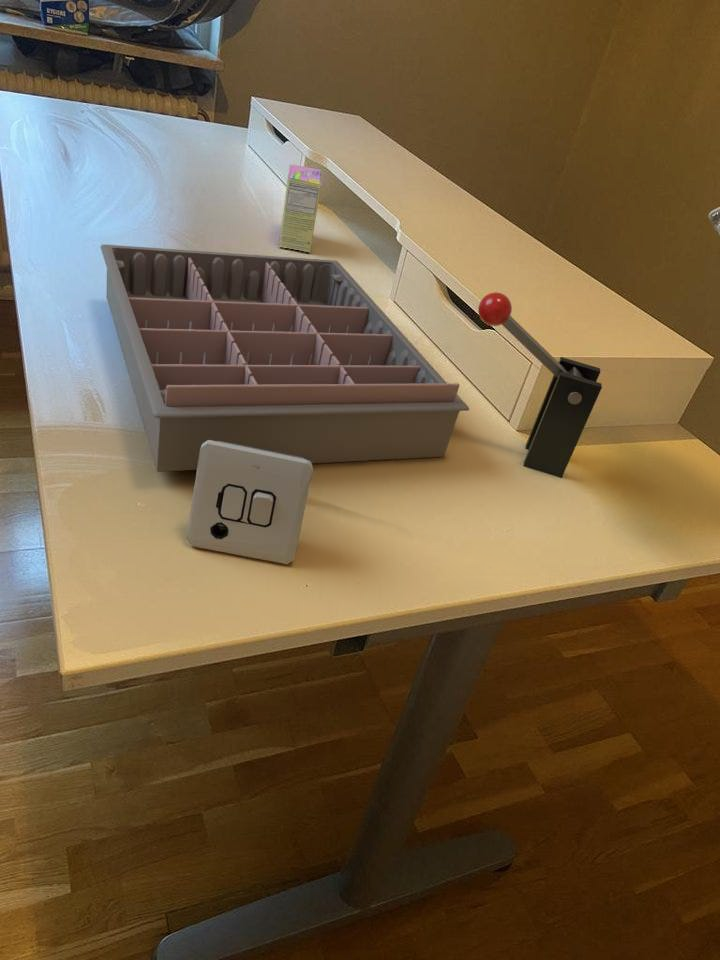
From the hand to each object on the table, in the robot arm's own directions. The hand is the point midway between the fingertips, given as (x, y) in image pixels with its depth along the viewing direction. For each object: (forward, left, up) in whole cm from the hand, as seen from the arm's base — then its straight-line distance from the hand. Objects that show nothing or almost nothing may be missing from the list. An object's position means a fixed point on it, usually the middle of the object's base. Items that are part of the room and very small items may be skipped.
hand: (714, 228), depth 68 cm
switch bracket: (+6, 0, -30) cm, 30 cm away
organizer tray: (+41, -1, -30) cm, 50 cm away
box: (+53, -53, -30) cm, 81 cm away
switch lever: (+12, 0, -17) cm, 21 cm away
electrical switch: (+32, +27, -30) cm, 52 cm away
